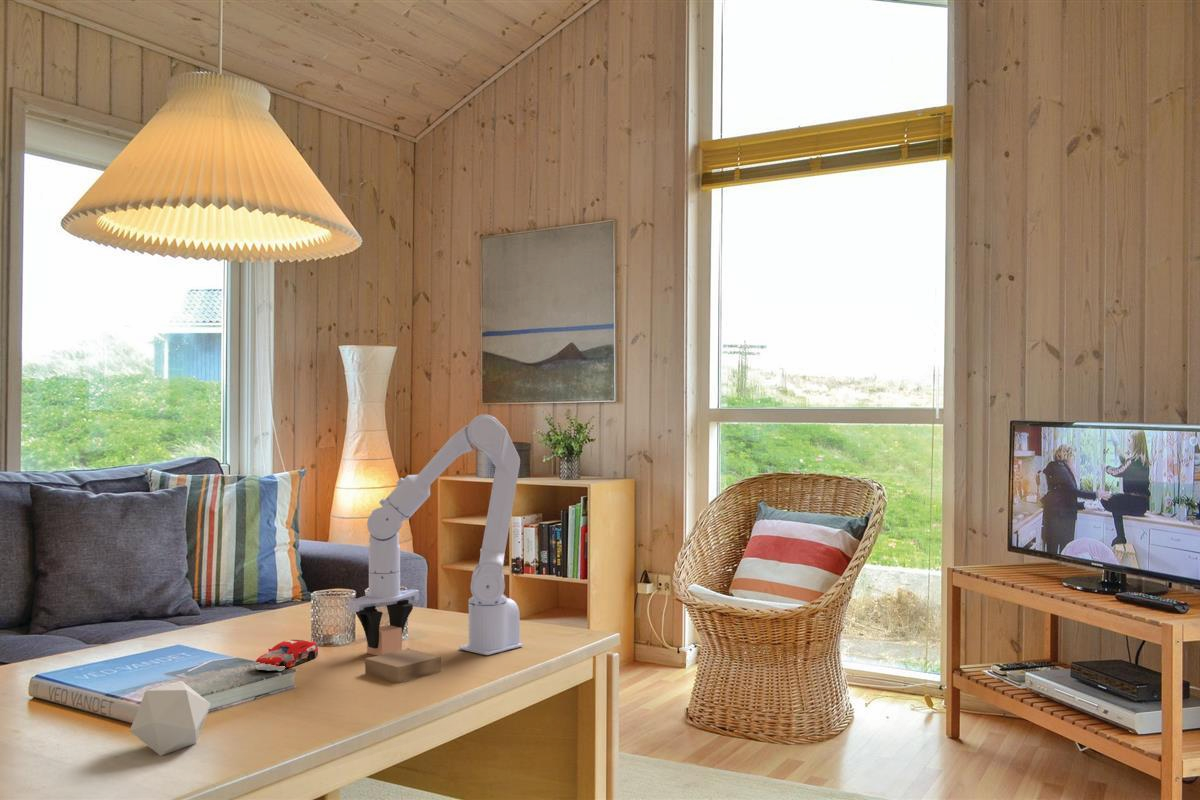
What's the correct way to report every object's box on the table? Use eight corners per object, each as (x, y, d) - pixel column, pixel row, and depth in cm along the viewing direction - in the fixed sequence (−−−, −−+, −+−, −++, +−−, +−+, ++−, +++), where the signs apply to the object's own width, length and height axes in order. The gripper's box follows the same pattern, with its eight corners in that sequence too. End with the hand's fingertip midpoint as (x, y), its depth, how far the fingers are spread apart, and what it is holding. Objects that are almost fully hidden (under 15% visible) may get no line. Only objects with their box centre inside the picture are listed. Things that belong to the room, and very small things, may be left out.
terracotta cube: (387, 648, 177) (387, 624, 177) (401, 652, 174) (401, 627, 174) (367, 653, 174) (367, 628, 174) (381, 656, 171) (381, 632, 171)
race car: (273, 676, 159) (273, 653, 159) (248, 673, 161) (248, 650, 161) (323, 657, 171) (323, 635, 171) (299, 655, 173) (299, 633, 173)
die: (210, 758, 121) (228, 683, 128) (149, 739, 116) (171, 662, 122) (170, 770, 125) (190, 697, 132) (109, 753, 120) (133, 677, 126)
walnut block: (407, 665, 166) (407, 648, 166) (440, 674, 160) (440, 656, 160) (365, 676, 159) (365, 658, 159) (398, 685, 153) (398, 667, 153)
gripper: (402, 564, 182) (402, 634, 182) (338, 574, 171) (338, 648, 171) (425, 568, 178) (425, 640, 177) (361, 578, 167) (361, 654, 166)
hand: (384, 644), depth 174 cm, fingers closed on terracotta cube, 4 cm apart
